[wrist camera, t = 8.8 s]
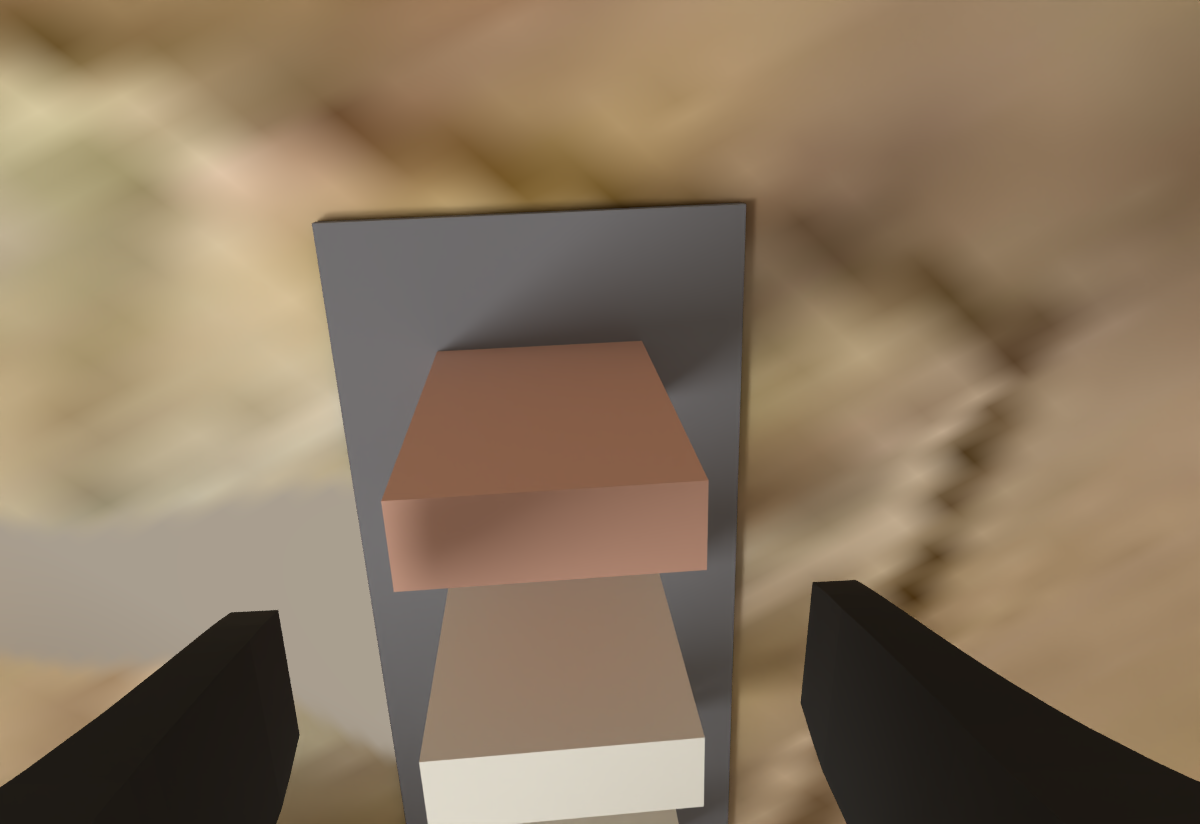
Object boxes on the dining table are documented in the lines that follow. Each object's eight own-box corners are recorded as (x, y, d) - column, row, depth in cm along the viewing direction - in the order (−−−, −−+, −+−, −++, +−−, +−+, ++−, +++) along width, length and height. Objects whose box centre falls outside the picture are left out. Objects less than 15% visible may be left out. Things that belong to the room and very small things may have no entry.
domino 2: (645, 572, 22) (703, 806, 15) (463, 586, 22) (429, 831, 15) (645, 521, 22) (704, 737, 14) (457, 534, 22) (418, 762, 14)
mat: (720, 999, 29) (722, 1007, 29) (440, 1029, 29) (439, 1038, 28) (742, 202, 19) (746, 203, 19) (315, 221, 19) (311, 223, 18)
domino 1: (642, 401, 21) (706, 569, 13) (443, 412, 20) (393, 592, 13) (641, 341, 20) (709, 480, 13) (437, 351, 20) (381, 501, 12)
